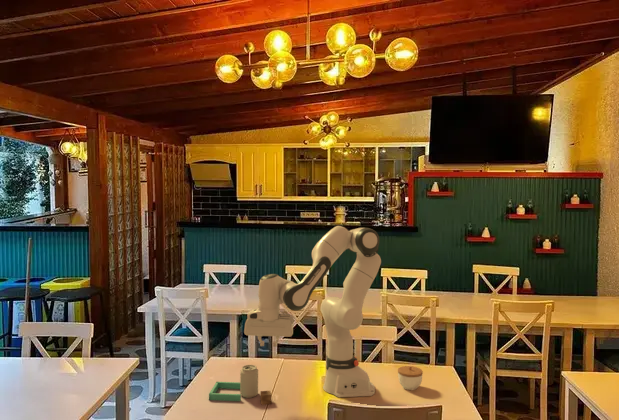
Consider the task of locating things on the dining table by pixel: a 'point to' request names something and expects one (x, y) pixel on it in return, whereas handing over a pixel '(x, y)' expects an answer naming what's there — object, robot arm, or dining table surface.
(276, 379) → the dining table surface
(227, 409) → the dining table surface
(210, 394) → the corral
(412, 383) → the lidded jar
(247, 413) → the dining table surface
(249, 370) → the can
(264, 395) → the walnut block
